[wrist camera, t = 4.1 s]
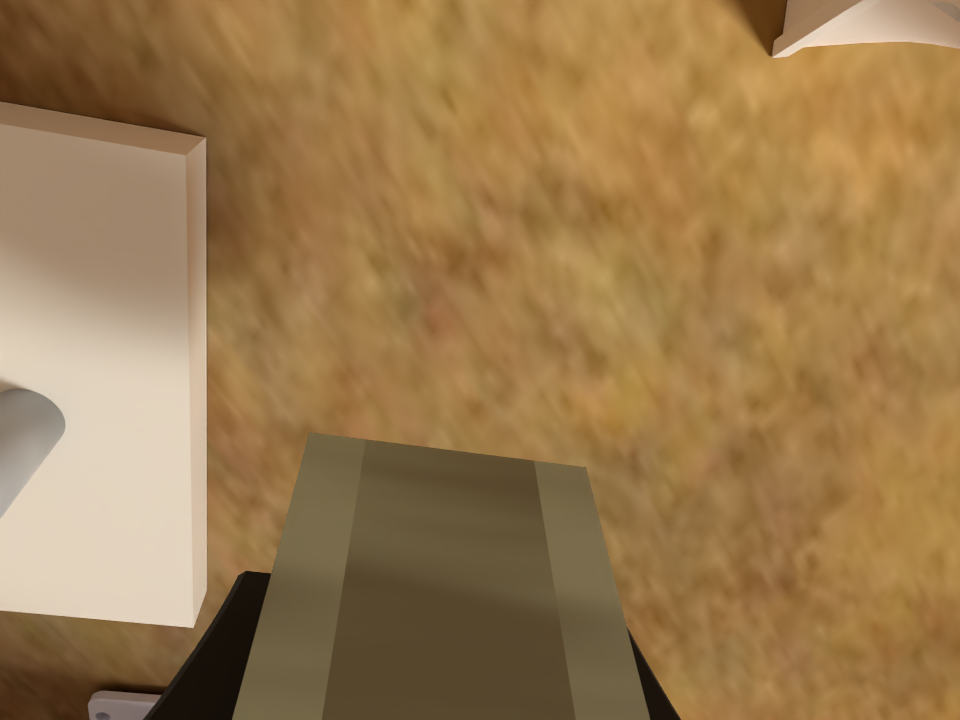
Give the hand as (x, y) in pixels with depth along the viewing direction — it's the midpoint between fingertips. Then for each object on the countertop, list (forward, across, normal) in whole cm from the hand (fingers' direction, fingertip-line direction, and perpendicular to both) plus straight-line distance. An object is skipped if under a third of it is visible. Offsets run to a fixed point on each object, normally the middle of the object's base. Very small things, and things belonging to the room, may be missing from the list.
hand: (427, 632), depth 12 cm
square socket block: (+2, 0, 0) cm, 2 cm away
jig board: (+9, +14, +3) cm, 17 cm away
